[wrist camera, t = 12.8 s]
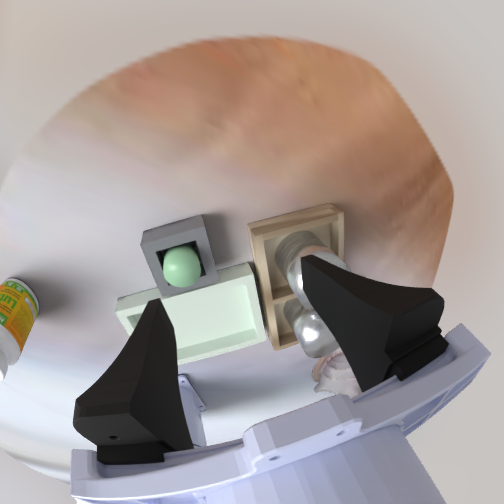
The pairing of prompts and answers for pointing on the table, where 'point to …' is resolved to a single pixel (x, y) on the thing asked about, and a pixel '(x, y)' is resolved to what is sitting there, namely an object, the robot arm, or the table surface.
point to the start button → (181, 265)
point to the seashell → (335, 375)
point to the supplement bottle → (15, 321)
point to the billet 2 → (309, 330)
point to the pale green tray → (206, 314)
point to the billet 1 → (291, 262)
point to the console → (174, 235)
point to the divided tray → (268, 275)
